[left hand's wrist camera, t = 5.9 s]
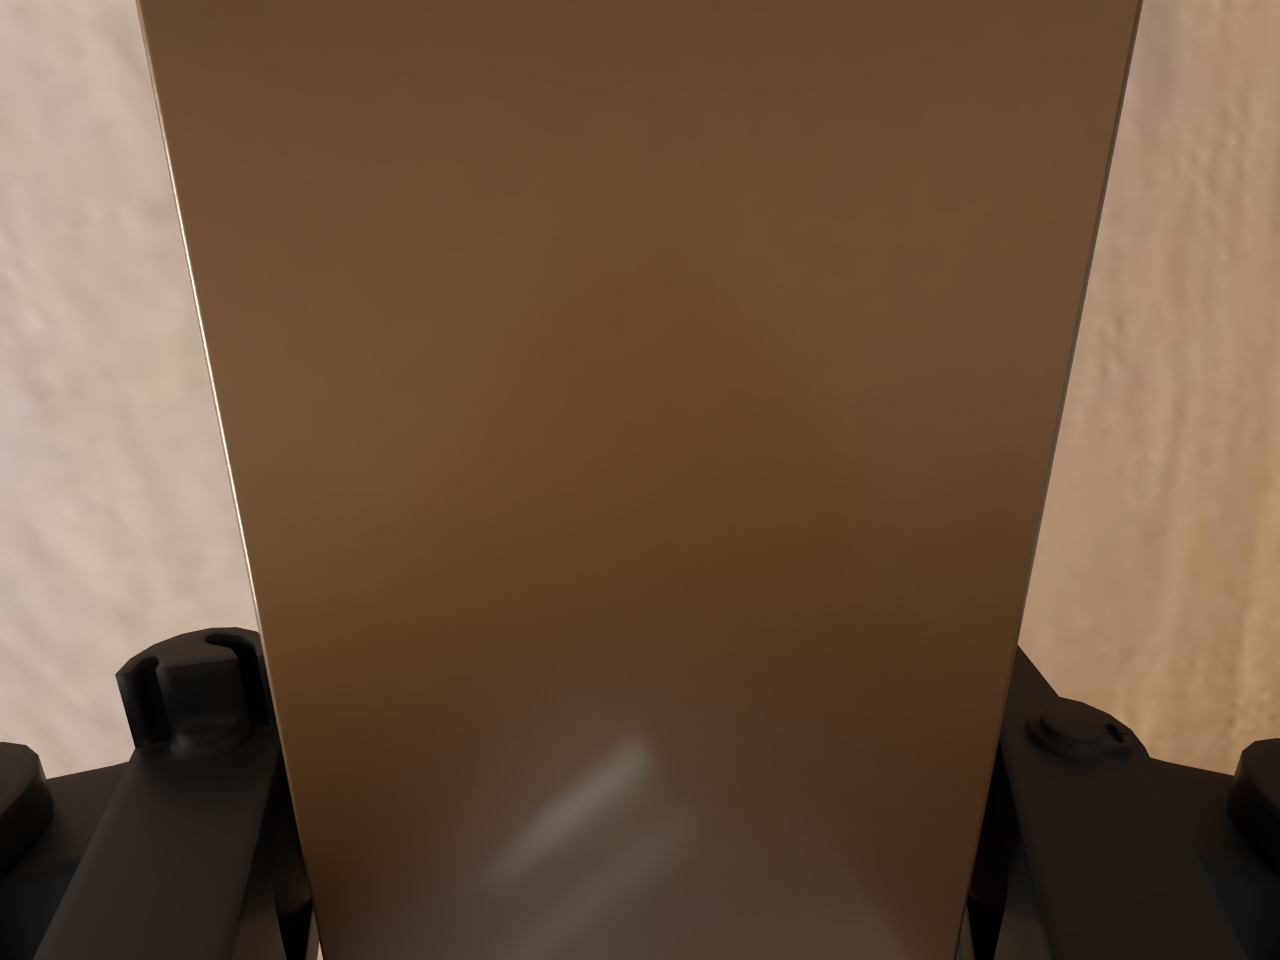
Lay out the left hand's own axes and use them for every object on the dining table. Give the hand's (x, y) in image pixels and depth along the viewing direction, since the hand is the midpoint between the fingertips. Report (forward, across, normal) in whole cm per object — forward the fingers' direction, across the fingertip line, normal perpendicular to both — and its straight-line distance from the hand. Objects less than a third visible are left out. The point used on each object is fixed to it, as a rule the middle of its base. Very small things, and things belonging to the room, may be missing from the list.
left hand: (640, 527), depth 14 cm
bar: (+1, 0, -9) cm, 9 cm away
